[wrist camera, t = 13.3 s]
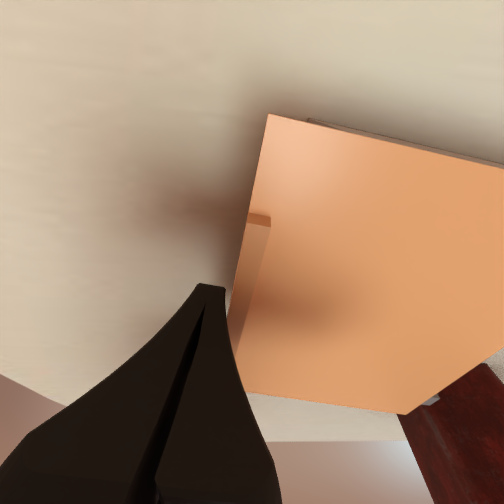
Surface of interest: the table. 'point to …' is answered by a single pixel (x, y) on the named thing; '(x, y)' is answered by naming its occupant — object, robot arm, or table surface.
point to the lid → (365, 270)
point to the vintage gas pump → (461, 440)
